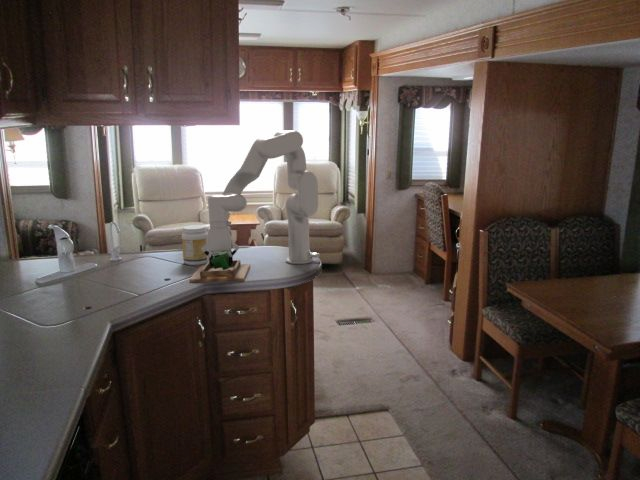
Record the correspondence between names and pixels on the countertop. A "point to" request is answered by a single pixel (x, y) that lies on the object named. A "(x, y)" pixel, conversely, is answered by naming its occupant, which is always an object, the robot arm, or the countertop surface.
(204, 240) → the supplement tub
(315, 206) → the robot arm
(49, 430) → the countertop surface
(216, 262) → the clamp
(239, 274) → the brown shallow square tray
